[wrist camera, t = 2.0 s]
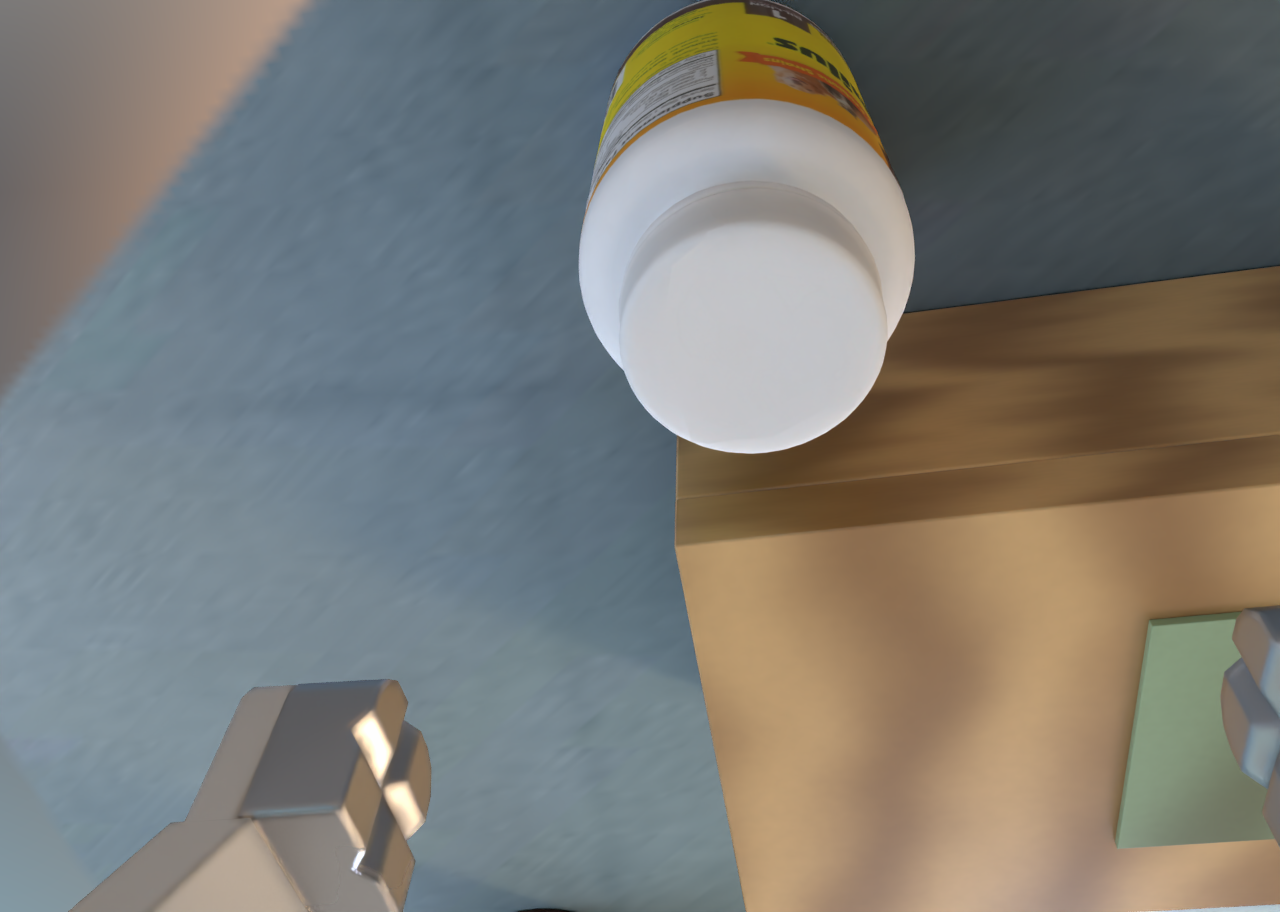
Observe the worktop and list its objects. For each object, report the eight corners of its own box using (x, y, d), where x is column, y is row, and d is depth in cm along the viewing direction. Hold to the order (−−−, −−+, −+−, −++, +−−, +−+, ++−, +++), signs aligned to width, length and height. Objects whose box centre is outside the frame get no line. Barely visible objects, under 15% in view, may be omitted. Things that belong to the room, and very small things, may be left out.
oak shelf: (739, 704, 35) (750, 941, 29) (677, 340, 27) (674, 552, 21) (1317, 657, 33) (1474, 902, 26) (1437, 244, 25) (1707, 448, 18)
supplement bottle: (897, 157, 24) (1006, 405, 16) (688, 273, 26) (687, 548, 18) (782, -71, 22) (841, 85, 13) (557, 76, 23) (486, 292, 15)
